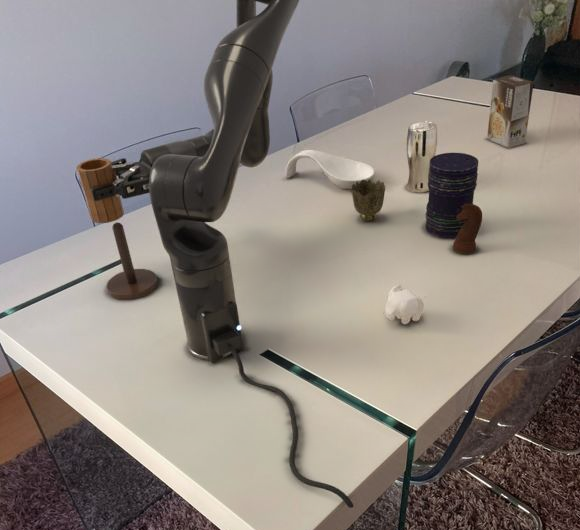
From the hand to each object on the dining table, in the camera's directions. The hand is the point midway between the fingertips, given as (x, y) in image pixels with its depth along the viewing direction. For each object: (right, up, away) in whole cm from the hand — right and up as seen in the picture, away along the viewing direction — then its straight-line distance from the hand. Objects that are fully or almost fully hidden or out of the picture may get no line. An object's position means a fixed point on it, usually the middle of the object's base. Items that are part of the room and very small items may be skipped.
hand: (86, 189), depth 115 cm
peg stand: (+5, -16, +13) cm, 22 cm away
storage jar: (+71, -3, +23) cm, 75 cm away
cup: (+54, +1, +29) cm, 62 cm away
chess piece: (+73, -9, +15) cm, 75 cm away
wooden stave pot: (+2, -4, +5) cm, 6 cm away
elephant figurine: (+57, -24, -3) cm, 62 cm away
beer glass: (+68, +11, +41) cm, 80 cm away
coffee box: (+96, +28, +61) cm, 117 cm away
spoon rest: (+47, +14, +48) cm, 68 cm away
